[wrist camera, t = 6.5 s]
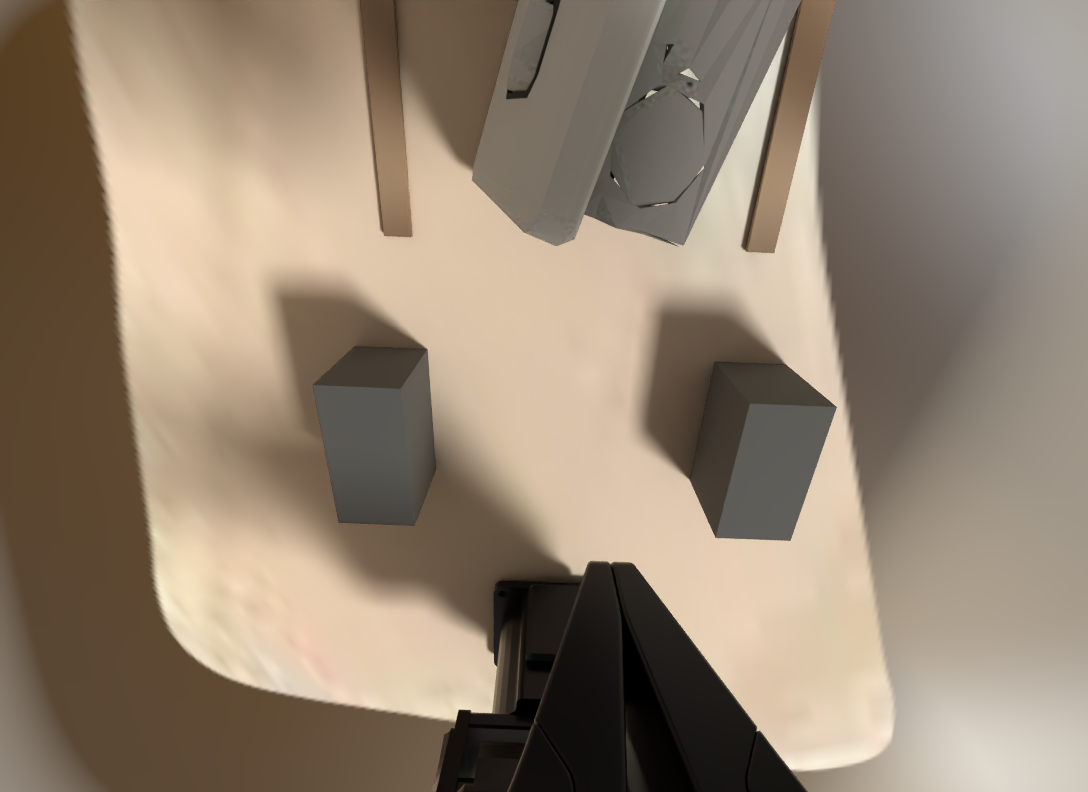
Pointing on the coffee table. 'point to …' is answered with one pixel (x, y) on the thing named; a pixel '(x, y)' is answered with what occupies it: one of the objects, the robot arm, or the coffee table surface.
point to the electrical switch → (621, 110)
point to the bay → (778, 158)
